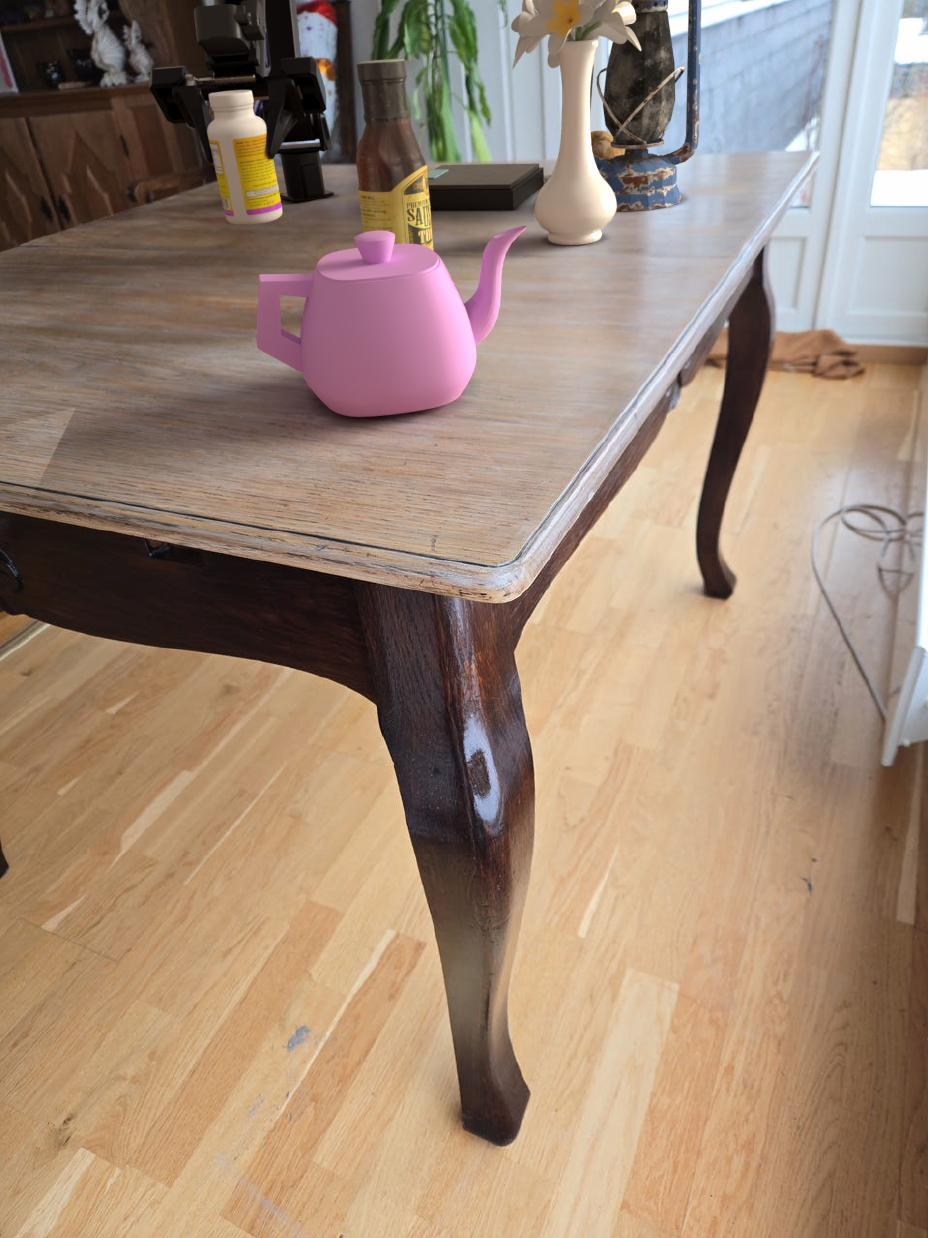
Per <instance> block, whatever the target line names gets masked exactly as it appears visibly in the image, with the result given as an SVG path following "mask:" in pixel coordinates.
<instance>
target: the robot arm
mask: <svg viewBox="0 0 928 1238" xmlns="http://www.w3.org/2000/svg"><path fill="white" fill-rule="evenodd" d="M193 17H194V25H195V33H196V43H197V45H198V46H199V47H201V48H202V50H203V51H204V64H205V66H206V68H207V71H212V73H213V74H212V75H213V76H211V77H197V76H196V75H194V74H192V73H189V70H188V69H187V67H186V66H185V65H179V66H169V67H168V66H166V67H154V68H152V69H151V71H150V73H149V74H148V75H149V77H148V89H149V91H150V93H151V94H152V96H153V98H154V100H155V101H156V104H157V105H158V107H159V109H160V111H161V112H162V115H163V116H164V117H165V119H166V122H169V123H171V124H172V125H177V124H179V125H180V124H186V125H187V126H188V127H189V128H191V129H195V130H196V133H197V134H198V138H199V140H200V143H201V147H202V149H203V152H204V154H205V158H206V160H207V162H208V164H210V165H211V164H214V162H213V157H212V152H211V148H210V144H209V139H208V134H207V129H208V126H209V124H210V123H211V122H212V121H213V120H214V119H213V118H212V115H211V114H210V112H209V110H208V108H207V107H208V102H210V101H209V94H211V93H216V92H223V91H233V90H251V91H252V95H253V100H254V101H261V107H259V117H260V118H262V119H263V120H264V121H265V123H266V125H267V154H268V156H269V159H273V160H274V158H275V157H276V155H280V161H281V166H282V167H281V168H282V173H283V179H284V185H285V192H279V193H280V199H284V200H287V201H290V202H291V203H292V202H293V203H300V202H306V201H311V200H312V201H313V200H317V199H321V198H322V199H323V198H327V197H328V198H329V197H333V196H335V193H334V191H331V190H329V189H326V188H325V182H324V175H323V169H322V161H321V155H320V152H321V153H322V152H323V153H324V152H326V151H329V150H333V144H332V137H331V133H330V129H329V125H328V120H327V116H326V113H324V112H325V111H326V110H327V93H326V87H325V83H324V80H323V76H322V73H321V69H320V66H319V62H318V60H316V59H315V58H314V57H313V56H312V55H311V56H310V55H309V56H302V54H301V53H302V52H301V44H300V43H301V41H300V33H299V22H298V12H297V2H296V0H213V4H212V5H211V4H210V5H200V6H196V7H194V9H193ZM266 42H267V51H268V57H267V54H266ZM268 59H269V71H268V74H267V76H266V68H268ZM316 140H318V142H313V141H316ZM300 142H301V143H300ZM302 142H303V143H302ZM304 142H305V143H304ZM285 143H286V144H285ZM287 143H289V144H287Z"/></svg>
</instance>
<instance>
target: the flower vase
mask: <svg viewBox="0 0 928 1238" xmlns="http://www.w3.org/2000/svg"><path fill="white" fill-rule="evenodd" d="M631 2H632V0H522V3H521V12H520V14H518V15H517V16H516V17H515V18H514V19H513V20H512V22H511V24H510V29H511V30H512V32H514V33H518V36H519V37H518V40H517V42H516V43H517V44H516V48H515V52H514V59H513V64H512V70H514V69H515V66H516V65H517V64H518V62H519V61H520V59H521V58H522V56H523V55H524V53H526V54H532V53H533V51H534V50H535V49H536V48H537V47H538V46H539V44H540V43H541V42H542V41H543V40H544V39H545V38H546V37H547V36H548V35H549V37H548V39H547V51H548V55H547V65H548V67H549V68H551V69H556V68H558V67H559V72H560V77H561V80H560V81H561V119H560V121H561V124H560V138H559V139H560V141H559V142H560V143H559V149H558V154H557V158H556V161H555V165H554V167H553V170H552V172H551V175H550V176H549V178H548V179H547V181H546V182H544V186H543V187H541V188H540V189H539V190H538V193H537V195H536V197H535V199H534V203H533V215H534V218H535V220H536V222H537V223H538V224H539V226H540V227H541V228H542V229H543V230H545V231H547V232H548V233H547V240H548V241H549V242H550V243H551V244H555V245H560V246H581V245H588V244H592V243H595V242H597V241H599V240H601V238H602V236H603V232H602V229H604V228H606V227H607V226H608V225H609V224H610V222H611V221H612V219H613V218H614V216H615V215H616V213H617V211H616V210H617V202H616V197H615V194H614V192H613V190H612V189H611V187H610V185H609V184H608V183H607V182H606V180H605V179H604V178H603V177H602V176H601V174H600V173H599V171H598V168H597V166H596V163H595V160H594V156H593V152H592V145H591V132H592V130H591V112H590V86H591V75H592V68H593V65H594V66H595V57H596V53H597V49H598V47H599V45H600V42H599V37H603V38H605V39H608V40H609V41H611V42H612V43H613V42H615V43H618V44H624V43H625V42H626V40H627V39H628V40H629V41H630V42H631V43H632V44H633V45H634V46H635V47H636V48H637V49H639V50H640V51H641V47H640V44H639V42H638V39H637V37H636V35H635V34H634V32H633V31H632V30H631V29H630V28H629V27H626V26H625V25H628V24H632V23H634V22H635V20H636V14H635V10H634V8H633V6H632V5H631ZM594 56H595V57H594Z"/></svg>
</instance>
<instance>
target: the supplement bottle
mask: <svg viewBox="0 0 928 1238" xmlns="http://www.w3.org/2000/svg"><path fill="white" fill-rule="evenodd" d="M208 102H209V107H210V108H211V110H212V111H213V115H214V119H212V120H213V121H212V122H211V123H210V124H209V126H208V129H207V134H208V139H209V144H210V148H211V152H212V157H213V165H214V169H215V175H216V179H217V184H218V190H219V194H220V198H221V203H222V207H223V211H224V215H225V219H226V220H227V222H228V223H230V224H232V225H237V226H252V225H253V226H254V225H263V224H267V223H271V222H273V221H276V220H278V219H280V218H281V217H282V215H283V205H282V200H281V199H282V198H281V197H280V193H281V192H280V187H279V183H278V177H277V171H276V167H275V162H274V161H275V160H274V159H269V156H268V154H267V125H266V123H265V121H264V120H263V119H262V118H260V116H258V115H256V114H255V112H254V106H255V105H254V102H255V100H253V95H252V91H251V90H233V91H223V92H216V93H211V94H209V101H208Z"/></svg>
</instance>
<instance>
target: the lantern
mask: <svg viewBox="0 0 928 1238" xmlns="http://www.w3.org/2000/svg"><path fill="white" fill-rule="evenodd" d="M631 5H632V6H633V8H634V10H635V14H636V20H635V22H634V23H632V24H628V25H625V26H626V27H629V28H630V29H631V30H632V31H633V32H634V34H635V35H636V37H637V39H638V42H639V44H640V47H641V51H640V50H639V49H637V48H636V47H635V46H634V45H633V44H632V43H631V42H630V41H629V40H628V39H627V40H626V42H625V43H624V44H618V43H615V42H613V41H612V43H611V47H610V53H609V57H608V61H607V67H605V68H602V69H601V70H600V71H599V72H598V74H597V76H596V87H597V92H598V95H599V98H600V100H601V102H602V110H603V119H604V125H605V127H606V128H607V130H608V132H609V133H611V135H612V136H613V141H612V142H611V144H610V145H611V147H613V148H618V149H626V150H625V154H623V155H618V156H615V157H614V158H610V159H607V158H601V157H598V156H596V155H594V154H593V156H594V160H595V163H596V166H597V168H598V171H599V173H600V174H601V176H602V177H603V178H604V179H605V180H606V182H607V183H608V184H609V185H610V187H611V189H612V190H613V192H614V194H615V197H616V202H617V210H616V212H637V211H649V210H657V209H663V208H669V207H671V206H674V205H677V204H679V203H680V202H682V200H683V197H682V194H681V192H680V189H679V186H678V184H677V177H678V176H677V173H678V168H677V165H680V164H683V163H686V162H687V161H688V160H689V159H691V158H692V157H693V156H694V154H695V152H696V150H697V149H698V145H699V141H700V105H701V104H700V101H701V99H700V97H701V96H700V95H701V94H700V93H701V48H702V47H701V46H702V44H701V43H702V41H701V40H702V0H688V8H687V9H688V13H687V16H688V18H687V22H688V23H687V60H686V61H687V63H686V64H687V67H685V66H683V65H681V66H679V67H678V68H675V67H676V66H675V65H676V64H675V56H674V49H673V41H672V35H671V27H670V26H671V25H670V22H669V21H670V20H669V12H668V11H667V10H668V8H669V0H632V2H631ZM595 57H596V55H595V56H594V58H595ZM594 68H595V64H594V65H593V68H592V75H591V86H590V113H591V112H592V111H591V110H592V97H593V84H594V71H595V69H594ZM686 68H687V69H686ZM685 70H686V112H685V113H686V114H685V115H686V117H685V139H684V142H683V144H682V146H680V147H679V148H678V149H675V150H674V151H672V152H669V153H665V154H659V155H658V154H655V153H649V149H650V148H655V147H660V146H663V145H665V140H664V139H663V138H664V137H665V134H666V131H667V126H668V125H669V124H670V122H671V120H672V117H673V113H674V107H675V102H676V83H677V82H678V81H679V80H680V78H681V77H682V75H683V74H684V72H685ZM604 72H606V73H605V82H604V89H603V91H604V92H602V88H601V85H600V76H601V74H602V73H604ZM676 75H677V76H676Z"/></svg>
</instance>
